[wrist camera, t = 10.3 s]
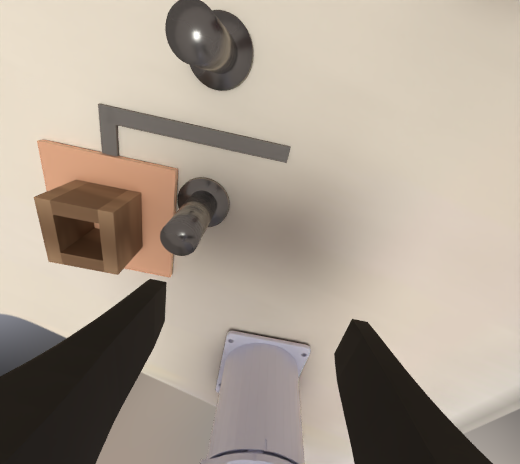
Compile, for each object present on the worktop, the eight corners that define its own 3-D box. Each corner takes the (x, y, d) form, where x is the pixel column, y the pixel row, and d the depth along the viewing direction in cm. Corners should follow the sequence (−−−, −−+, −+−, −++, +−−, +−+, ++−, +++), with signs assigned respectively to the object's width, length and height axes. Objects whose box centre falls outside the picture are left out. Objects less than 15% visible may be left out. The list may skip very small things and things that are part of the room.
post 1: (247, 96, 15) (233, 97, 11) (186, 82, 15) (144, 77, 10) (259, 21, 14) (249, -20, 9) (191, 4, 14) (143, -46, 9)
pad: (172, 273, 22) (170, 277, 21) (63, 251, 21) (59, 255, 21) (178, 168, 18) (175, 170, 17) (43, 139, 17) (37, 140, 17)
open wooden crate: (142, 247, 20) (118, 274, 17) (84, 235, 20) (48, 261, 17) (141, 192, 18) (113, 212, 15) (75, 179, 18) (33, 197, 15)
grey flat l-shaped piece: (277, 197, 18) (277, 198, 18) (104, 160, 18) (102, 160, 18) (290, 146, 17) (290, 147, 16) (100, 103, 16) (98, 103, 16)
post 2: (225, 229, 20) (208, 273, 15) (178, 219, 19) (145, 260, 15) (233, 183, 18) (216, 216, 13) (181, 172, 18) (144, 201, 13)
